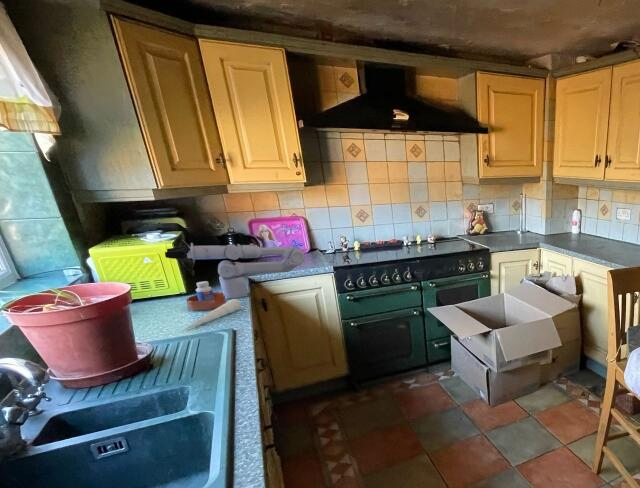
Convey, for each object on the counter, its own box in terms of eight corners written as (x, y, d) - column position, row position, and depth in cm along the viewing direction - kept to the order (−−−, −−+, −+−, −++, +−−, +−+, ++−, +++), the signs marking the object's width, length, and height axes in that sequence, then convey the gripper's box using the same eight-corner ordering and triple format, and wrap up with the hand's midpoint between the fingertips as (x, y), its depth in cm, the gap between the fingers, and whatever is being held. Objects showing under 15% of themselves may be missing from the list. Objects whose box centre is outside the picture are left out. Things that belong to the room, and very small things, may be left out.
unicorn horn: (177, 329, 151) (173, 317, 150) (234, 309, 173) (231, 297, 171) (187, 330, 150) (183, 318, 149) (243, 310, 172) (240, 298, 170)
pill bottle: (207, 307, 173) (201, 284, 169) (196, 306, 174) (190, 283, 170) (219, 303, 178) (213, 281, 174) (208, 302, 179) (202, 280, 175)
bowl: (226, 299, 184) (224, 290, 183) (226, 307, 174) (224, 298, 173) (190, 304, 178) (187, 295, 176) (188, 313, 168) (185, 303, 166)
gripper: (206, 240, 184) (166, 240, 177) (204, 245, 172) (162, 246, 165) (208, 256, 186) (169, 257, 179) (207, 262, 174) (165, 263, 167)
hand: (166, 253), depth 172 cm, fingers open, 7 cm apart
